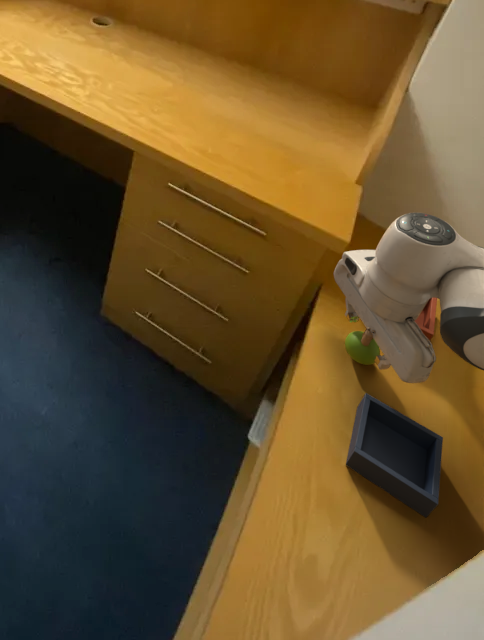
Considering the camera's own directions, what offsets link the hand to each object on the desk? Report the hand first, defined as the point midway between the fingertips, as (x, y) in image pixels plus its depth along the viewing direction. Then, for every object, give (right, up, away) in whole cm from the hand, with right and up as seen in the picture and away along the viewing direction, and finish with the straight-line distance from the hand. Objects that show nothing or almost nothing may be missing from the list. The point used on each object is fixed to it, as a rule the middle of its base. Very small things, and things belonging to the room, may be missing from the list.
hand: (365, 341), depth 92 cm
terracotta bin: (+13, 0, +10) cm, 17 cm away
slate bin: (-4, -12, -11) cm, 17 cm away
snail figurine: (0, -5, +3) cm, 6 cm away
